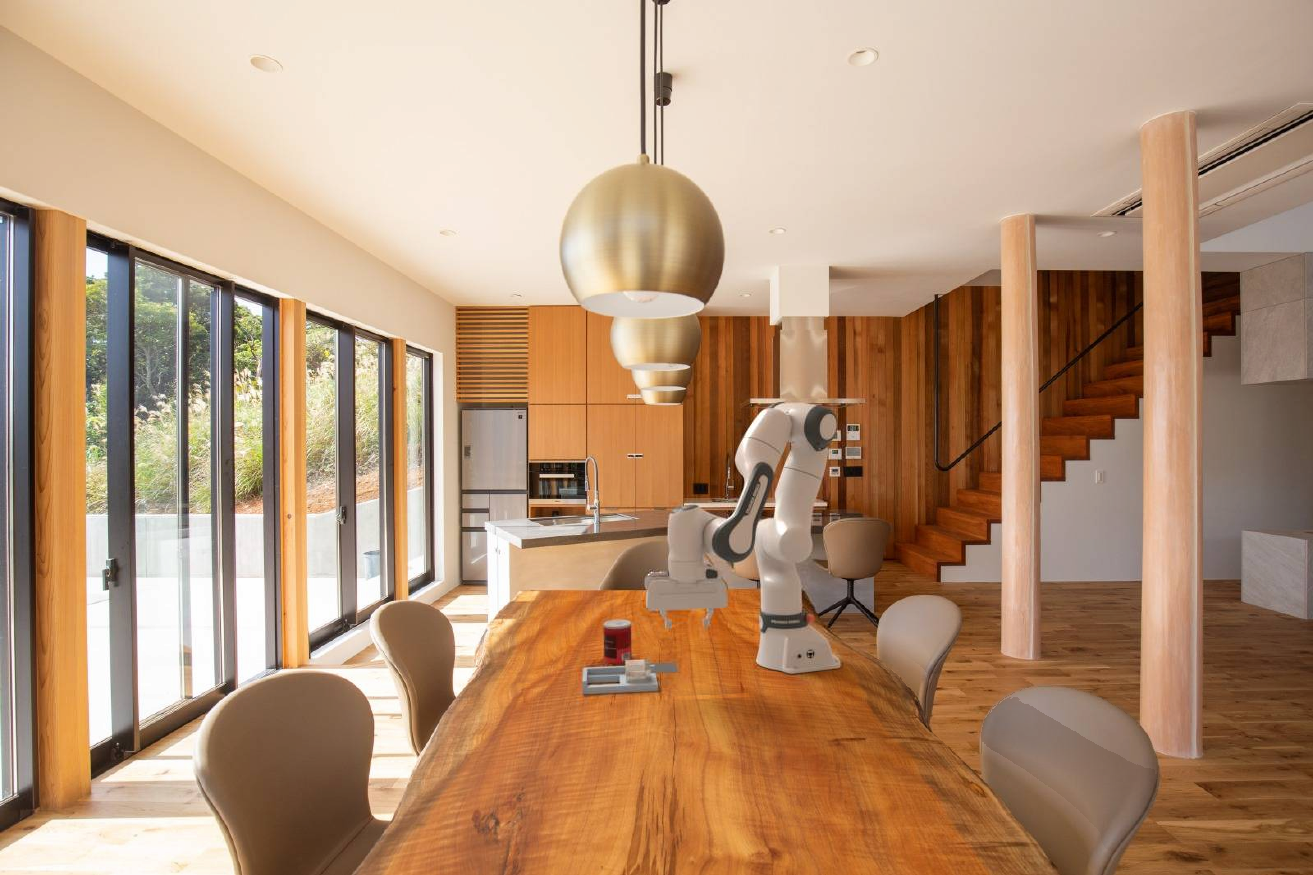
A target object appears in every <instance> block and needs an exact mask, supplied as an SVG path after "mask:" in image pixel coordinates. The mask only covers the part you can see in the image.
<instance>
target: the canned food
mask: <svg viewBox="0 0 1313 875" xmlns="http://www.w3.org/2000/svg"><path fill="white" fill-rule="evenodd" d="M602 627H603V628H602V629H603V662H605V663H608V664H613V665H614V664H615V665H618V664H620V665H621V664H625V660H633V659H632V623H631V621H630V620H627V619H617V618H616V619H610V620H607V621H605V622H603V626H602Z"/></svg>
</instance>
